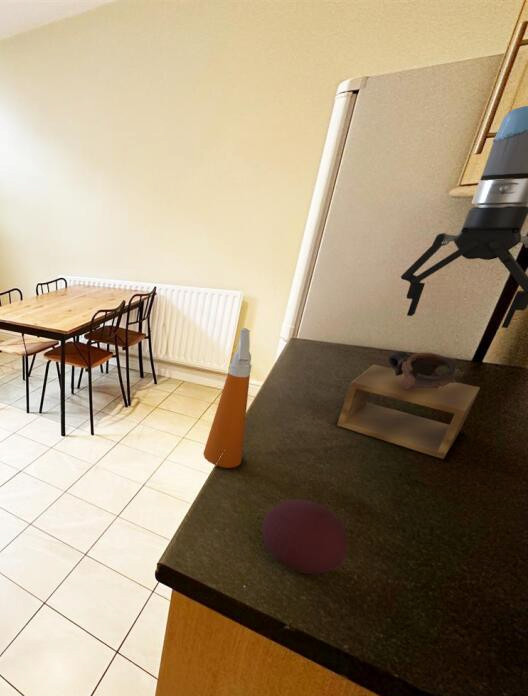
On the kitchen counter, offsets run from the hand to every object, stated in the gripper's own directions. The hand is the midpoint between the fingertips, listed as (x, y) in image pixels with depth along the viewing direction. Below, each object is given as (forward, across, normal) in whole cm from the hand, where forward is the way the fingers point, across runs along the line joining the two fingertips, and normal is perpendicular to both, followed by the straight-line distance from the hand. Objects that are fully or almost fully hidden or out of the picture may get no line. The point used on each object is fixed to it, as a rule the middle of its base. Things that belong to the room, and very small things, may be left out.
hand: (455, 320), depth 83 cm
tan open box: (+25, -2, -3) cm, 25 cm away
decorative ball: (+25, -2, -61) cm, 66 cm away
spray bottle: (+25, -23, -42) cm, 53 cm away
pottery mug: (+14, -2, -3) cm, 15 cm away
